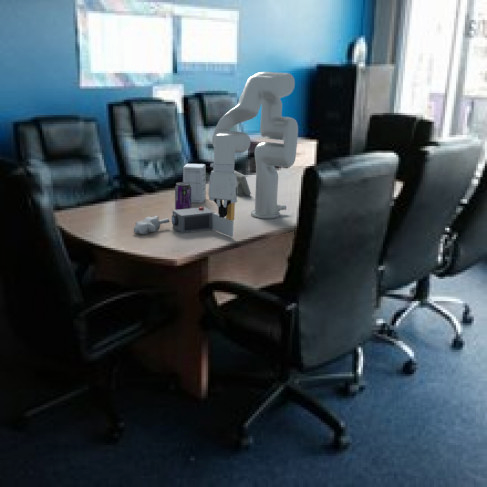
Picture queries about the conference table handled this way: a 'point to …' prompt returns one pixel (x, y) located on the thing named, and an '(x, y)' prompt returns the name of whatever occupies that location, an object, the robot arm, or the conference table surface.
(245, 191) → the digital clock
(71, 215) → the conference table surface
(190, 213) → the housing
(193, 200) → the supplement box
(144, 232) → the bunny figurine
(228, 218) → the door
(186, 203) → the beverage can
